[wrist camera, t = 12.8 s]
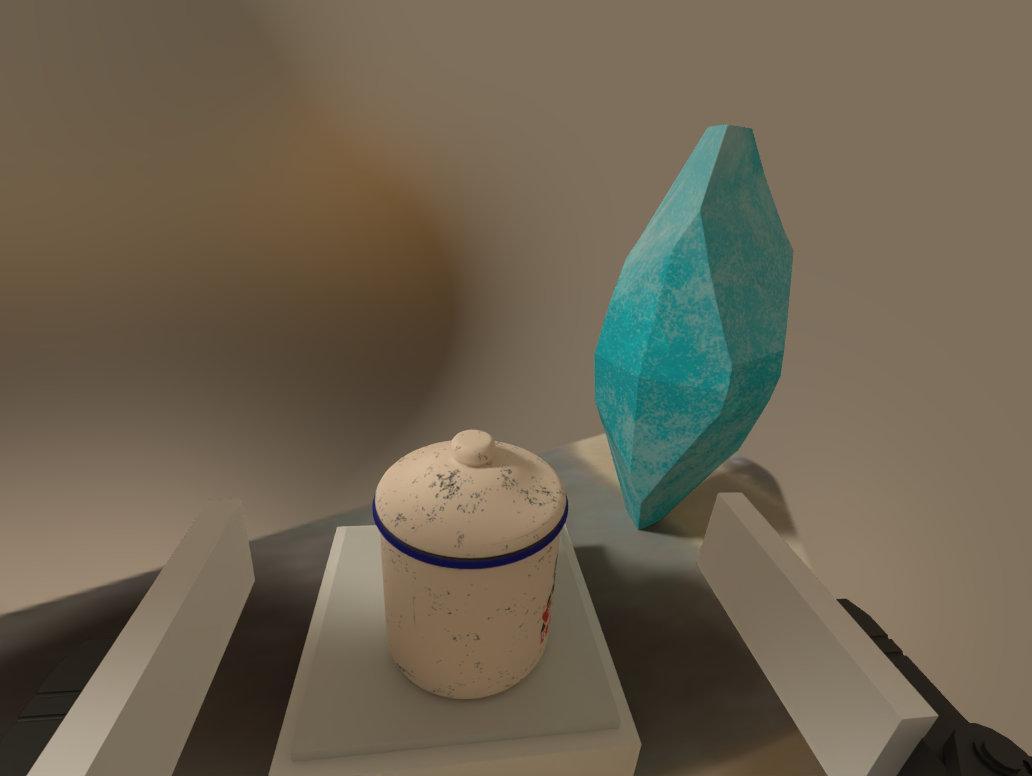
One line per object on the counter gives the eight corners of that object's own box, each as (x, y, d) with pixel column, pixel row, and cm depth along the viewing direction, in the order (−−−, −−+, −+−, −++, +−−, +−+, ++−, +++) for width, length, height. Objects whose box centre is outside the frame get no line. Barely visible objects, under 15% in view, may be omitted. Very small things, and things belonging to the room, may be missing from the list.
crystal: (760, 532, 43) (887, 138, 31) (647, 595, 36) (756, 111, 24) (652, 463, 52) (718, 138, 40) (544, 502, 45) (585, 119, 33)
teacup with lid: (583, 675, 25) (614, 476, 20) (396, 737, 22) (382, 518, 17) (502, 524, 35) (511, 369, 31) (367, 552, 32) (353, 383, 27)
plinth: (276, 832, 22) (263, 776, 20) (340, 565, 36) (336, 519, 35) (629, 788, 24) (643, 735, 23) (558, 554, 39) (563, 512, 37)
